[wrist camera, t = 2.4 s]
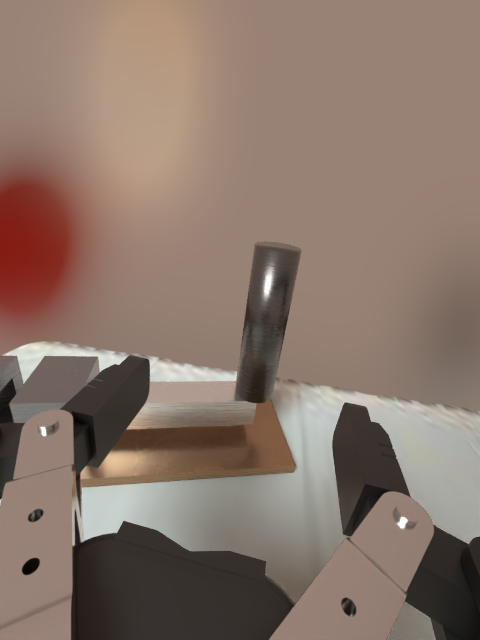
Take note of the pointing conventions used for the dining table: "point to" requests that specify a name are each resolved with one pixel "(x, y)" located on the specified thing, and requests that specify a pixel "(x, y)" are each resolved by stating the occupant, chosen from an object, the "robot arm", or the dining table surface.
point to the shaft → (255, 355)
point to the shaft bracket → (147, 432)
